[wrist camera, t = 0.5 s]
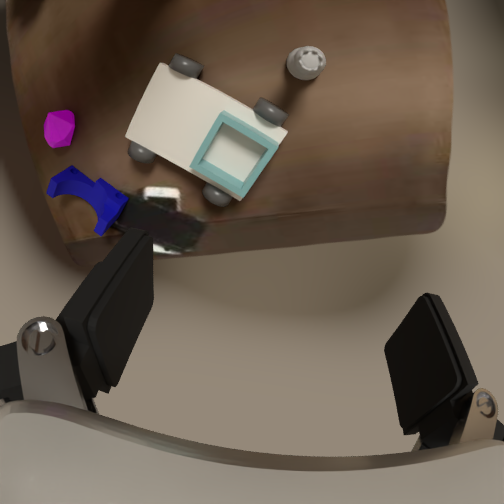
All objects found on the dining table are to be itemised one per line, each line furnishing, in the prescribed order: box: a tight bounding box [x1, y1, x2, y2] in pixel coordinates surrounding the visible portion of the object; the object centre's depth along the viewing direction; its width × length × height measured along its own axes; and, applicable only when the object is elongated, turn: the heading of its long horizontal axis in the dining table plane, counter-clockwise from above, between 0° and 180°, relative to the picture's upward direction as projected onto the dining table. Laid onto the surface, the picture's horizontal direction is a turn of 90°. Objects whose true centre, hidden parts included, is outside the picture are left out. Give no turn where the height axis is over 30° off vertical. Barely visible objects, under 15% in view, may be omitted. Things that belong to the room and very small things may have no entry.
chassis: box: [125, 54, 289, 207], centre depth 33 cm, size 18×15×6 cm
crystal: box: [44, 110, 75, 148], centre depth 34 cm, size 5×5×5 cm
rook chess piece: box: [287, 46, 326, 80], centre depth 27 cm, size 4×4×8 cm
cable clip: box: [47, 166, 129, 236], centre depth 40 cm, size 12×4×6 cm, turn 51°
